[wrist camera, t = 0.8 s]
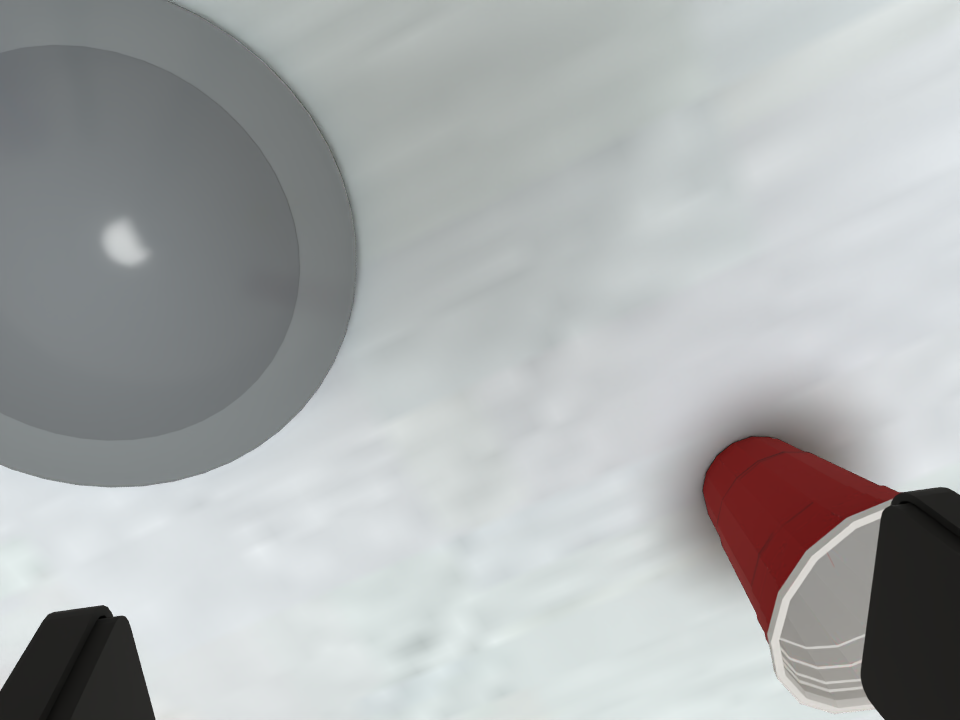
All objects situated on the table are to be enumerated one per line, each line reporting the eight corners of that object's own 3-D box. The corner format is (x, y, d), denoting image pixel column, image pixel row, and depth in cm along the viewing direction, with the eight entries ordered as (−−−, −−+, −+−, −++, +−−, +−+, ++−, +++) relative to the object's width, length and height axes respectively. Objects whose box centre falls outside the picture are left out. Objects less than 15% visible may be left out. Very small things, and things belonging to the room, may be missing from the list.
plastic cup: (797, 577, 45) (940, 735, 34) (635, 548, 43) (732, 706, 32) (873, 415, 42) (1058, 528, 31) (704, 373, 40) (838, 480, 29)
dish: (-258, -18, 28) (-287, -23, 27) (332, -25, 31) (331, -30, 30) (-93, 497, 36) (-110, 511, 34) (374, 453, 39) (374, 465, 37)
